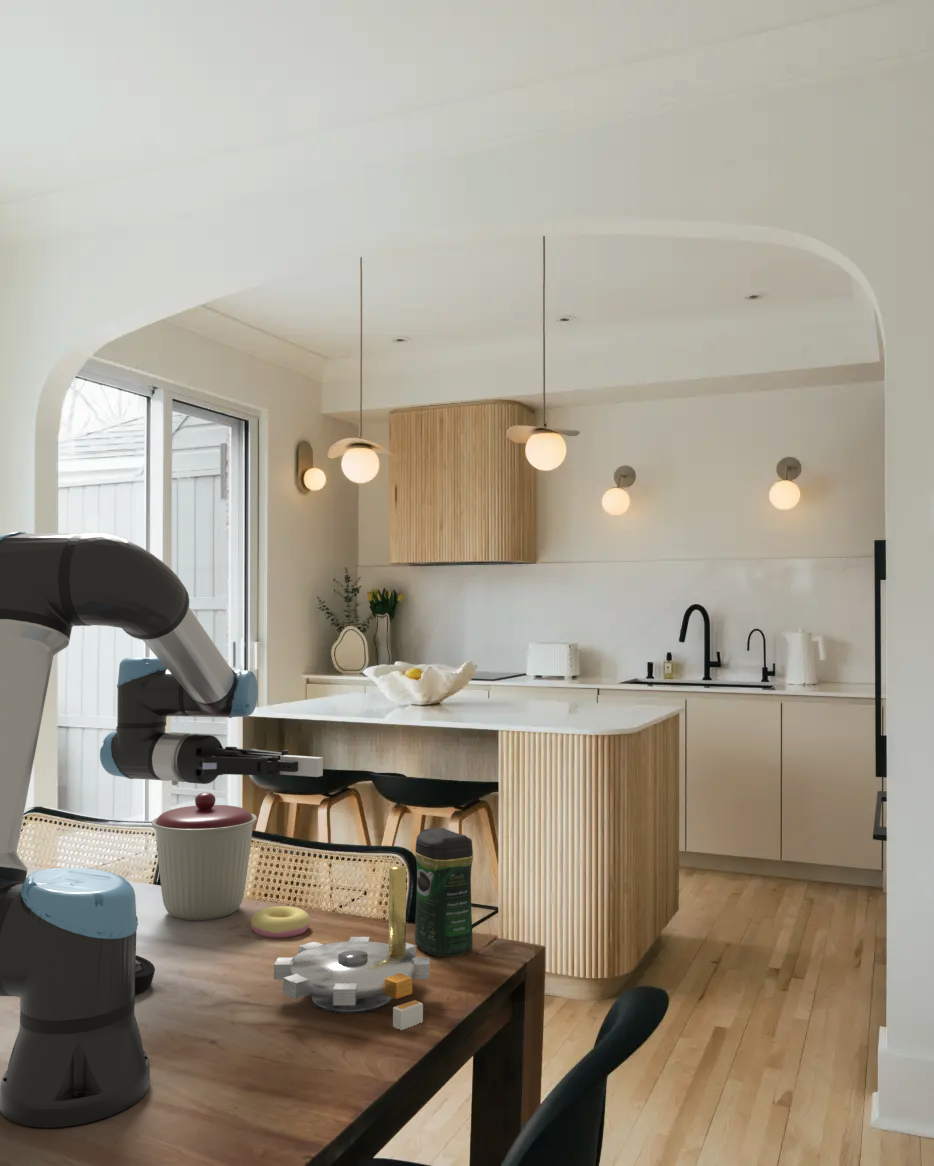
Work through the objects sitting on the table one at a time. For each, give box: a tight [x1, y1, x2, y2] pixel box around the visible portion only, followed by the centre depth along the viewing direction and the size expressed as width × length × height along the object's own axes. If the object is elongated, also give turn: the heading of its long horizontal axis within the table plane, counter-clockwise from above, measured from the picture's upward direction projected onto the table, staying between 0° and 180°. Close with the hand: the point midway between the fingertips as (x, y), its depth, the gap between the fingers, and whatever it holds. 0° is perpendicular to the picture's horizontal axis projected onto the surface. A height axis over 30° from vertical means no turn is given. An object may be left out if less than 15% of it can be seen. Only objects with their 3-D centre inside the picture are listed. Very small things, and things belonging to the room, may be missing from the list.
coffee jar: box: [414, 827, 474, 957], centre depth 156 cm, size 10×8×19 cm
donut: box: [250, 905, 311, 939], centre depth 165 cm, size 10×5×9 cm
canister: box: [151, 792, 258, 921], centre depth 175 cm, size 18×18×21 cm
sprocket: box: [273, 865, 431, 1005], centre depth 135 cm, size 21×21×14 cm
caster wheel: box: [135, 954, 156, 995], centre depth 138 cm, size 7×11×10 cm
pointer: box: [392, 999, 424, 1031], centre depth 126 cm, size 4×2×3 cm, turn 133°
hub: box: [311, 995, 394, 1015], centre depth 135 cm, size 11×11×3 cm
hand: (320, 767), depth 146 cm, fingers closed
